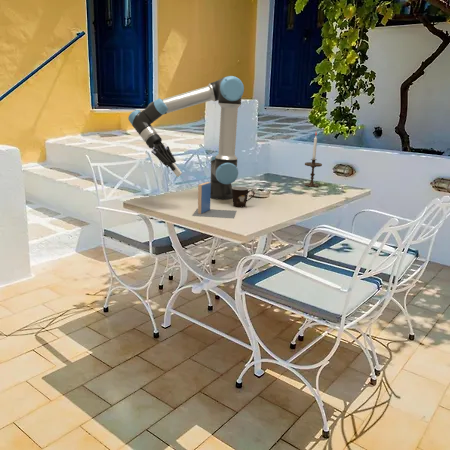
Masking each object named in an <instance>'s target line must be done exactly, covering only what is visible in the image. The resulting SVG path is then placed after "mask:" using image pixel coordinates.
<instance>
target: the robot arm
mask: <svg viewBox="0 0 450 450" xmlns="http://www.w3.org/2000/svg"><path fill="white" fill-rule="evenodd" d="M243 83H244V82H242V79H240V78H238V76H237V77H236V76H235V75H234V76H233V75H227V76H223V77H222V78H220V79H218V80H215V81H213V82H210V83H208V85H206V86H203V87H199V88H197V89H192V90H189V91H187V92H183V93H179V94H175V95H173V96H172V95H171V96H169V97H166V98H162V99H161V98H159V97H158V98H157V99H155V100H154V101H151V102H150V103H149V104H148V105H147V107H146V108H145V109H143V110H142V111H141V110H140V109H135V110H134V111H132V112H131V113H130V114H129V115H128V121H129V123H130V125H131V126H132V127H133V129H134V130H135V131H136V132H137V133H138V135H139V136H140V137H141V139H142V140H143V142H145V144H146V146H147V147H148V148H149V149H151V154H152V155H154V156H155V157H156V158H157V159H158V160H159V161H160V162H161V163H162V164H163V165H164V166H165V167H167V168H169V169H170V170H171V171H172V172H173V174H174V175H175V176H176V177H177V178H178V177H180V176H181V175H182V174H183V172H182V171H181V169H180V168H179V167H178V166H177V164H176V162H177V160H176V158H175V156H174V155H173V153H172V151H171V150H170V147H169V146H168V145H167V146H165V145H164V143H162V140H163V139H162V138H161V136H160V134H158V132H157V131H156V129H155V128H154V127H153V126H152V124H153V123H155V121H157V120H158V119H159V118H161V117H162V116H163V115H167V114H170V113H173V112H176V111H180V110H183V109H187V108H189V107H193V106H197V105H201V104H203V103H207V102H211V101H213V102H218V105H219V106H220V121H219V136H218V137H219V139H218V153H217V155H212V156H211V158H210V183H211V197H210V199H213V200H230V199H233V198H232V187H233V183H235V181H237V179H238V177H239V169H238V157H237V156H236V140H237V126H238V125H237V124H238V112H239V111H238V109H239V108H240V107H241V105H242V97H243V95H244V91H245V85H244V84H243Z"/></svg>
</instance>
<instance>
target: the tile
mask: <svg viewBox="0 0 450 450" xmlns="http://www.w3.org/2000/svg"><path fill="white" fill-rule="evenodd" d="M197 187H198V190H197V191H198V193H197V209H198V214H202V213H204V212H206V211H209V210H210V209H211V198H210V197H211V181H206V182H203V183H200V184H198V185H197Z"/></svg>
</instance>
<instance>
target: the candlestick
mask: <svg viewBox="0 0 450 450" xmlns="http://www.w3.org/2000/svg"><path fill="white" fill-rule="evenodd" d="M317 143H318V138H317V131H315V136H314V138H313V147H312V158H311V159H310V160H311V162H305V163H304V166H305V167H306V166H307V167H310V168H311V173H310V175H309V176H310V181H309V182H306V183H304V186H305V187H307V186H308V187H307V188H319V187H318V186H320V185H319V183H314V179H315V175H316V174H315V169H316V168H317V167H318V168H319V167H323V164H322V163H320V162H316V161H317V157H316V155H317Z"/></svg>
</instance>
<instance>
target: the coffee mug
mask: <svg viewBox="0 0 450 450" xmlns="http://www.w3.org/2000/svg"><path fill="white" fill-rule="evenodd" d="M250 192H252V193H253V194H252V196H250V197H249V198H248V195H249V193H250ZM254 196H255V190H251V189H249V187H247V186H232V198H231V199H232V207H234V208H238V209H241V208H246V207H247V202H248V201H250V200H251V199H252V198H254Z"/></svg>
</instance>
